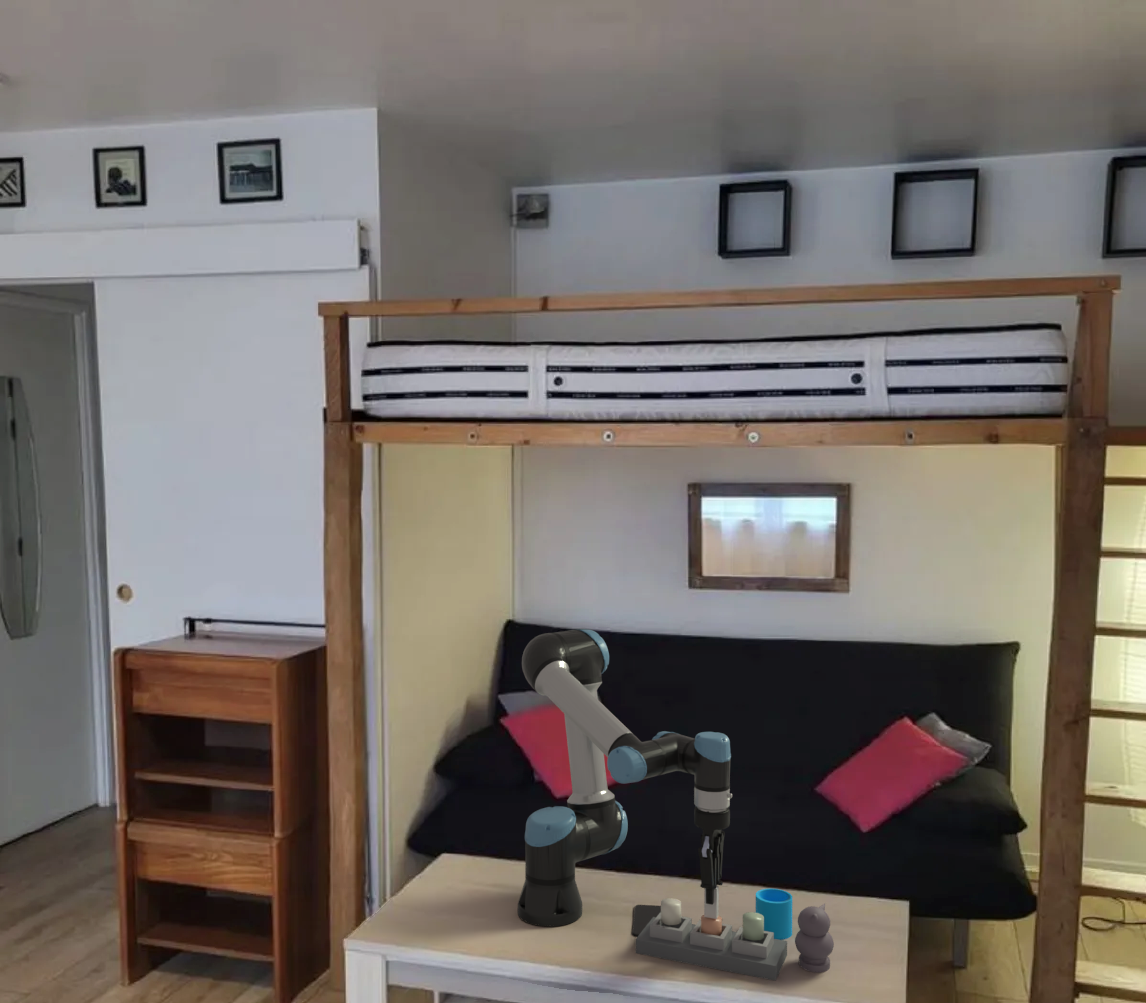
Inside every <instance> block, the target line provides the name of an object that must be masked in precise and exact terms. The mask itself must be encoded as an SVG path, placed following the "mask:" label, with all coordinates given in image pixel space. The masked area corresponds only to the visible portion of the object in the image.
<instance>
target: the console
mask: <svg viewBox="0 0 1146 1003" xmlns="http://www.w3.org/2000/svg"><path fill="white" fill-rule="evenodd" d="M692 919H693V918H692V917H690V916H688V917H687V916H683V915H681V923H680V924H677V925H666V924H664V923H662V922H661V912H660V913H659V915H658V916H657V917H653V918H652V919H651V920H650V922H649V923H648V924H647V925H646V927H645V928H644V929H643V931H642V932H641V933H640V934H639V936H638V937H635V954H637V955H644V956H647V957H654V958H659V959H664V960H668V961H674V962H679V963H683V964H689V965H695V966H700V967H703V968H705V967H706V968H710V969H713V970H714V969H715V970H719V971H725V972H730V973H735V974H740V975H744V976H749V977H756V978H760V979H766V980H769V981H770V980H771V981H776V980H777V979H778V977H779V974H780V972H781V970H782V968H783V966H784V963H785V961H786V959H787V956H788V940H785V939H783V940H778V939H774V933H773V932H768V931H764V938H763V939H761V940H749V939H746V938H744V937H743V926H739V928H738V930H737V931H733V925H732V924H728V923H723V922H722V934H721V936H716V935H711V934H705V933H701V918H700V919H699V920H698V921H697V923H696V924H695V923H692V921H693V920H692Z"/></svg>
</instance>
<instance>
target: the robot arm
mask: <svg viewBox="0 0 1146 1003" xmlns="http://www.w3.org/2000/svg"><path fill="white" fill-rule="evenodd" d="M522 653H523V654H522V655H521V656H522V657H521V668H522V672H523V675H524V677H525V680H526V681H527V683H528V684H529V685H530V687H531V688H532V689H533V690H534V691H535V692H536V693H537V694H539V695H540V696H543V697H545V696H546V697H547V698H548V699H549V700H550V701H552V703H553V704H554V705H555V706H556V707H557V708H558V709H559V710H560V711H561V712H562V714H564V724H565V733H566V734H565V735H566V740H567V741H566V743H567V752H568V761H569V762H568V763H569V772H570V779H571V789H572V790H571V791H572V794H571V795H570V796H569V797H568V799H567V800H566V802H567V806H559V805H554V806H553V807H552V806H547V807H544V808H540V809H538V810H536V811H534V812H532V813H531V814H530V815H529V816H528V817H527V820H526V823H525V832H524V842H525V846H524V847H525V858H524V859H525V861H524V862H525V865H524V866H525V874H524V875H525V876H524V877H525V880H524V883H523V886H522V890H521V892H520V894H519V898H518V901H517V915H518V918H519V919H521V920H522V921H523V922H526V923H528V924H530V925H534V926H539V927H560V926H566V925H570V924H572V923H575V922H576V921H577V920H579V919H580V918H581V917H582V915H583V900H582V897H581V894H580V891H579V888H578V885H577V882H576V863H579V862H582V861H585V860H588V859H591V858H595V857H597V856H600V855H602V856H603V855H606V854H609V853H610V852H612V851H614V850H617V849H619V848H620V847H621V846H622V844H623V843H624V841H625V840H626V837H627V834H628V829H629V828H628V826H629V825H628V822H629V821H628V816H627V813H626V810H623V808H624V807H623V806H622V805H621V803H620V802H618V801H617V800H616V798H615V794H614V793H613V792H612V791H611V790H609V789H608V781H607V780H608V779H607V773H606V772H607V771H606V767H607V770H608V771H609V773H610V777H612V779H613V780H614V781H615V782H616V783H619V784H622V785H623V784H630V783H631V784H632V783H638V782H641V781H642V780H646V779H649V778H653V777H658V776H662V775H665V774H669V773H673V772H682V773H686V774H690V775H694V786H693V787H694V788H693V791H694V792H693V793H694V794H693V796H694V797H693V798H694V799H693V801H694V802H693V804H694V805H695V807H694V811H693V812H694V813H693V817H694V821H693V822H694V825H695V826H696V827H697V828H700V829H701V830H702V834H701V835H700V844H701V846H699V847H698V849H697V852H698V856H699V867H700V868H699V869H700V884H699V885H700V886H699V887H700V888H701V889H703V890H704V897H703V898H704V899H703V906H704V907H703V908H704V909H703V910H704V911H703V915H704V917H707V918H713V919H717V918H718V915H719V890H720V889H719V886H723V881H721V880H722V870H723V856H724V855H723V853H724V842H725V841H724V840H725V835H726V832H725V831H724V830H725V829H727V828H729V827H730V825H731V824H730V823H731V820H730V819H731V809H730V805H731V804H730V803H731V802H730V801H731V799H732V798H733V793H730V791H731V789H730V788H731V783H730V782H731V781H730V780H731V779H730V778H731V776H730V775H731V761H732V760H731V758H732V753H731V741H730V738H729V737H728V735H726V734H725V733H722V732H714V731H702V732H699V733H697V734H695V737H690V736H686V735H683V734H680V733H678V732H674V731H666V730H664V731H658V732H657V733H656V735H655V736H653V737H652V739H650V740H645V741H641V740H640V739H639V738H638V737H637V736H636V735H635V734H634V733H633V732H632V731H631V730H630V729H629V728H628V727H626V725H624V723H622V721H620V720H619V718H618V717H616V716H615V715H614V714H613V713H612V712H611V711H610V710H609V709H608V708H607V707H606V706H605V705H604V704H603V703H602V702H601V701H600V700H599V699H598V698H599V697H598V689H599V687H600V686H601V685H602V684H603V680H602V674H604V672H606V670H607V669H608V666H609V664H610V653H609V649H608V646H607V643H606V642H605V640H604V638H603V637H601V636H600V634H599V633H598V632H596V631H594V630H592V629H589V628H588V629H586V628H585V629H580V628H579V629H571V630H565V631H564V630H563V631H558V632H548V633H546V632H545V633H542V634H539V635H537V636H534V638H532V639H531V640H530V641H529V642H528V643H527V645H526V646H525V648H524V650H523V652H522ZM605 756H606V758H607V764H605V763H606V762H605ZM606 765H607V766H606Z"/></svg>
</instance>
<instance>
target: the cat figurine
mask: <svg viewBox="0 0 1146 1003" xmlns="http://www.w3.org/2000/svg"><path fill="white" fill-rule="evenodd" d="M797 924H798V928H799V931H797V933H796V935H795V937H794V944H795V948H796V950H797V951H798V953H799V955H798V965H799V967H800V968H802V969H803V970H805V971H808V972H812V973H824V972H827V971H828V970H830V968H831V959H830V957H829V956H830V955H831V954H832V953H833V950H834V947H835V942H834V939H833V936H832V935H831V933H829V930H830V927H831V919H830V916H829V914H828V913H827V912H826V903H823V904H822V905H819V906H815V905H811V906H807V907H805V908H804V909H802V910H801V911H800V912H799V915H798V917H797Z"/></svg>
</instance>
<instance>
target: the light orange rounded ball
mask: <svg viewBox="0 0 1146 1003" xmlns="http://www.w3.org/2000/svg"><path fill="white" fill-rule="evenodd" d="M700 919H701V933H705V934H711V935H716V936H721V934H722V923H723V918H722V916H720V915H719V914H718V918H717V919H713V918H707V917H704V914H703V915H701V917H700Z"/></svg>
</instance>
